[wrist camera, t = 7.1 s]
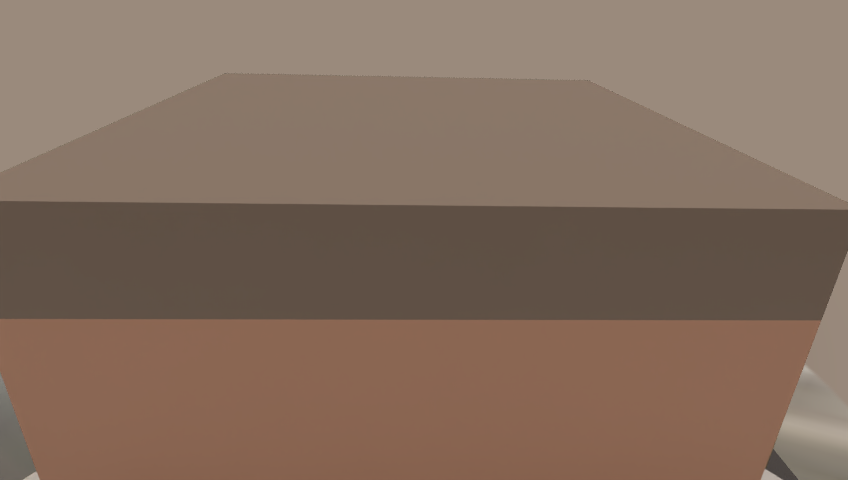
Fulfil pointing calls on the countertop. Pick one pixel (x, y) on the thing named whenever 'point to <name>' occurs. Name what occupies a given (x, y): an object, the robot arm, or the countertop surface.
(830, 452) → the countertop surface
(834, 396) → the countertop surface
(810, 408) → the countertop surface
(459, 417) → the block
